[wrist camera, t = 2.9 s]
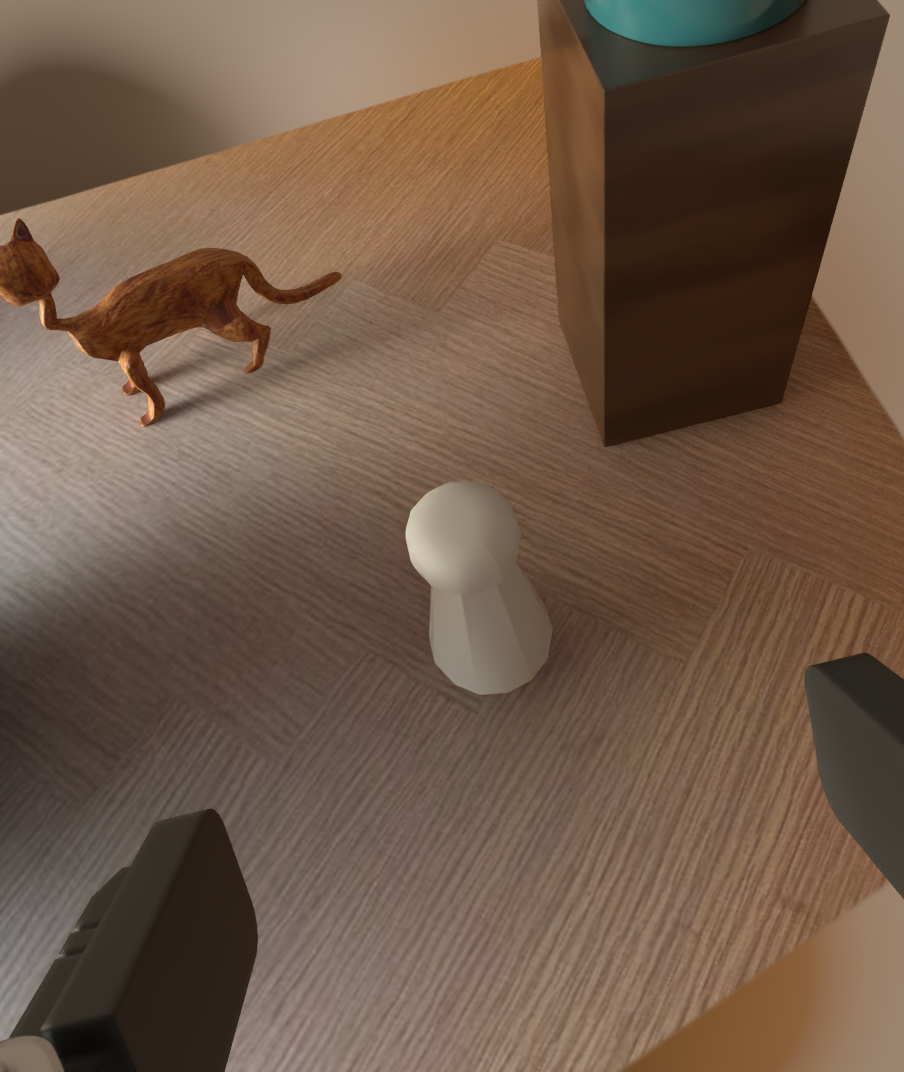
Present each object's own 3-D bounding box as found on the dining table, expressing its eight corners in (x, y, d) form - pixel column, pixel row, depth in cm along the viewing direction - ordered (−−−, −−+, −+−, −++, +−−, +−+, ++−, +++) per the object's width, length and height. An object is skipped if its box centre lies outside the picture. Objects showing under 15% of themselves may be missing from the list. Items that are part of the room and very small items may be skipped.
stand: (782, 403, 47) (891, 14, 29) (604, 447, 47) (603, 91, 29) (718, 278, 52) (777, -117, 34) (558, 320, 52) (533, -50, 34)
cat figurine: (323, 261, 58) (252, 68, 47) (370, 315, 55) (306, 122, 43) (86, 394, 56) (-53, 224, 44) (120, 460, 52) (-20, 295, 41)
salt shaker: (437, 712, 41) (375, 596, 30) (437, 605, 44) (380, 461, 33) (560, 705, 40) (542, 582, 29) (551, 596, 43) (532, 446, 32)
